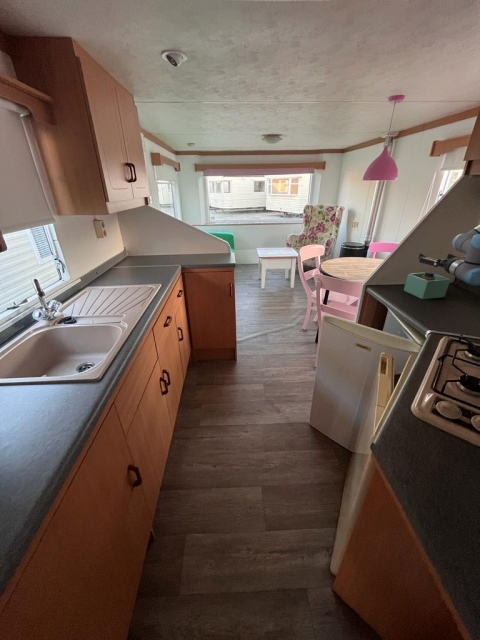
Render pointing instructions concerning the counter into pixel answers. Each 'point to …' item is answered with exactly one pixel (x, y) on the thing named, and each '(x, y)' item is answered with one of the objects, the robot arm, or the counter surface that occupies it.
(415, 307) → the counter surface
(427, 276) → the supplement bottle
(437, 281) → the waste bin
